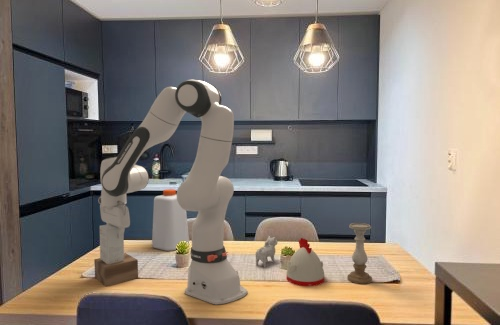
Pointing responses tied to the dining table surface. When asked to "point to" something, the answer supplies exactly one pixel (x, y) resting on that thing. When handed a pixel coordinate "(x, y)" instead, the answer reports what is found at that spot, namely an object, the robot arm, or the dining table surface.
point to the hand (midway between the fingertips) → (115, 236)
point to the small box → (111, 245)
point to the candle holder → (359, 255)
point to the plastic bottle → (168, 222)
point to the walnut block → (116, 270)
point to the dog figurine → (266, 251)
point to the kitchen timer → (305, 266)
